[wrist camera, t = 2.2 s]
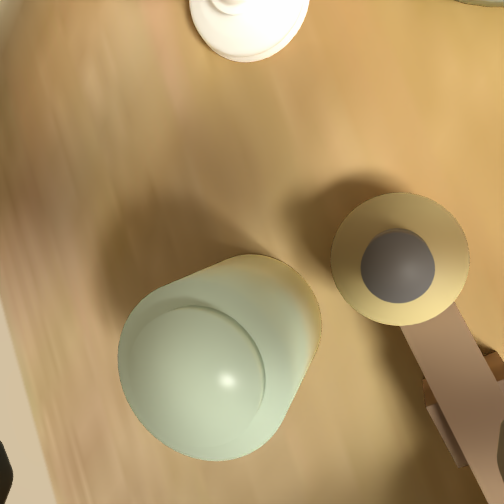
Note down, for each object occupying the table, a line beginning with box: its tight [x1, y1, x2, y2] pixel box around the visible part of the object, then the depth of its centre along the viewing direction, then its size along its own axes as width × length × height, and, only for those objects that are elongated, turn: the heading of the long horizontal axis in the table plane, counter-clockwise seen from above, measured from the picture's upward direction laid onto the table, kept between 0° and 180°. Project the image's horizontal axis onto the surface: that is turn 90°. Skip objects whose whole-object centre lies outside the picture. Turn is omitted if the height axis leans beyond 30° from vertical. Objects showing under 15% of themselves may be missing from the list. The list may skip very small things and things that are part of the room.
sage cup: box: [118, 254, 322, 461], centre depth 17 cm, size 6×6×7 cm
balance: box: [331, 192, 504, 504], centre depth 16 cm, size 17×5×6 cm, turn 29°
